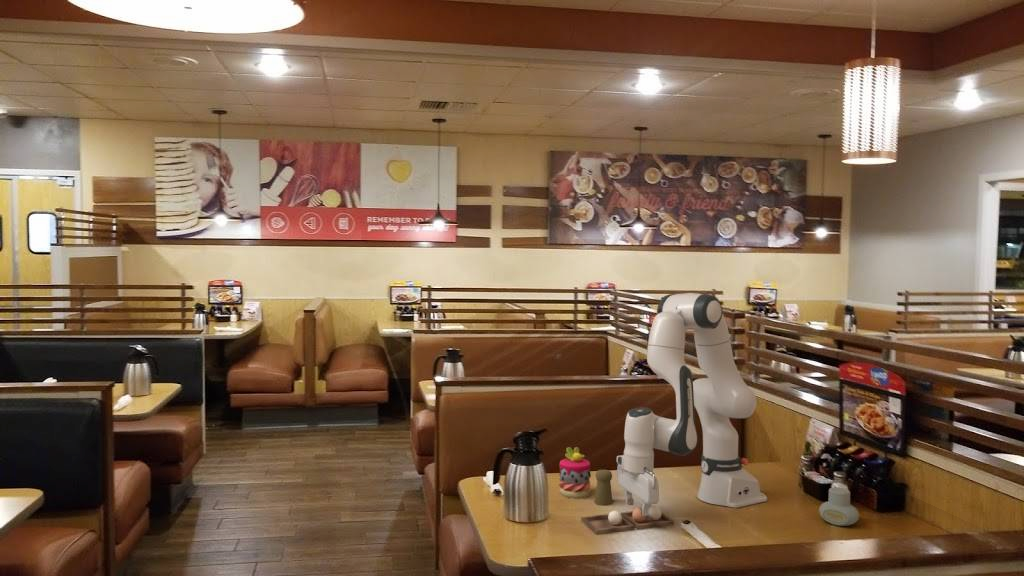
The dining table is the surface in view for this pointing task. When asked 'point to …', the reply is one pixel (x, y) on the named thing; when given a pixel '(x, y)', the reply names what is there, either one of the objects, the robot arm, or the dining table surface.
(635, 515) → the ball terracotta
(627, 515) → the tray
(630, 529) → the tray
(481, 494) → the dining table surface
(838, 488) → the air freshener
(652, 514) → the cream ball
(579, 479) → the cake
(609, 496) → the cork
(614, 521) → the cream ball
